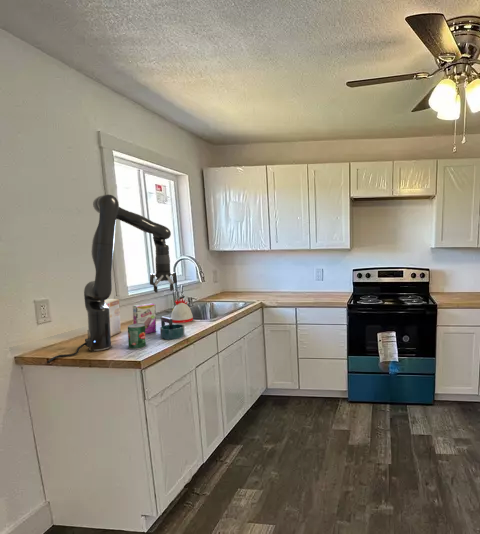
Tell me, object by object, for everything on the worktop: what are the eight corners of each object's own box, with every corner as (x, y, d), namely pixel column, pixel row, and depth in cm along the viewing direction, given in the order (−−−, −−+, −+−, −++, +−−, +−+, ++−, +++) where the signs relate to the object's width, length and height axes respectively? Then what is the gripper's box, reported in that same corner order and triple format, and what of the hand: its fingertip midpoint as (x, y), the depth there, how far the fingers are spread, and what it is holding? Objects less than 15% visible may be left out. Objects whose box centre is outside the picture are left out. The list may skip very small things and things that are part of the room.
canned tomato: (147, 347, 171) (146, 325, 170) (129, 350, 167) (128, 327, 166) (144, 343, 178) (143, 322, 177) (127, 346, 174) (126, 324, 173)
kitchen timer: (170, 319, 233) (169, 297, 232) (192, 317, 238) (191, 295, 237) (171, 323, 220) (170, 300, 219) (193, 321, 225) (192, 298, 224)
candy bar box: (137, 336, 192) (136, 306, 191) (133, 334, 195) (132, 305, 194) (156, 331, 201) (155, 303, 199) (152, 330, 204) (151, 302, 203)
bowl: (166, 341, 182) (165, 330, 181) (157, 336, 191) (156, 326, 191) (188, 336, 190) (188, 326, 190) (178, 332, 199) (178, 322, 199)
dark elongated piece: (179, 335, 191) (178, 318, 190) (170, 336, 187) (169, 320, 187) (167, 331, 202) (166, 316, 202) (158, 332, 199) (158, 317, 199)
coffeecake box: (109, 331, 201) (108, 298, 200) (121, 332, 201) (119, 298, 199) (92, 339, 187) (90, 303, 185) (104, 339, 186) (102, 303, 184)
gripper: (172, 262, 201) (173, 289, 203) (147, 263, 192) (148, 292, 193) (178, 262, 196) (178, 291, 197) (152, 263, 186) (153, 293, 187)
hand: (163, 291), depth 195 cm, fingers open, 8 cm apart
